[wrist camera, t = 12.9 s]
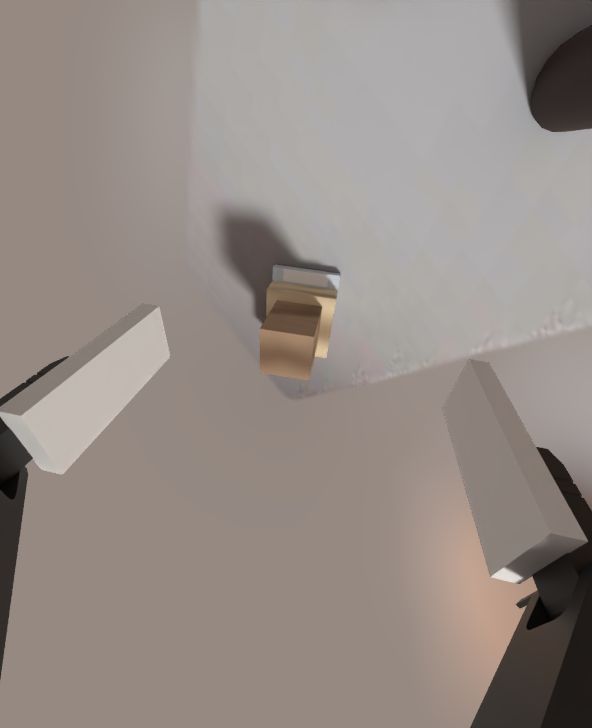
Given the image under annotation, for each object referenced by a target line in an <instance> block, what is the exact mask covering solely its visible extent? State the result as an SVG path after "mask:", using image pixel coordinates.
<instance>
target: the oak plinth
mask: <svg viewBox="0 0 592 728" xmlns="http://www.w3.org/2000/svg"><path fill="white" fill-rule="evenodd" d="M337 292H338V291H336V290H330V289H323V288H316V287H309V286H302V285H296V284H289V283H282V282H275V281H272V282H271V284H270V285H269V286H268V288H267V296H266V318H267V316H268V315H269V313H270V311H271V309H272V308H273V306H274V304H275V303H276V301H277V300H279V301H286V302H293V303H300V304H307V305H314V306H321V307H322V313H321V321H320V328H319V336H318V344H317V349H316V353H315V356H317V357H323V358H326V356H327V350H328V344H329V338H330V333H331V327H332V321H333V315H334V309H335V303H336V298H337Z"/></svg>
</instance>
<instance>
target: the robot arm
mask: <svg viewBox="0 0 592 728" xmlns="http://www.w3.org/2000/svg"><path fill="white" fill-rule="evenodd" d="M169 357H170V353H169V349H168V344H167V339H166V335H165V330H164V326H163V321H162V317H161V312H160V308H159V306H155V305H149V304H142V305H140V306H139V307H137V308H136V309H135V310H133V311H132V312H131V313H129V314H128V315H126V316H125V317H124V318H122V319H121V320H119V321H118V322H117V323H115V324H114V325H113V326H111V327H110V328H108V329H107V330H106V331H104V332H103V333H101V334H100V335H99V336H97V337H96V338H95V339H93V340H92V341H90V342H89V343H88V344H86V345H85V346H84V347H82V348H81V349H79V350H78V351H77V352H75V353H74V354H73V355H71V356H70V357H68V356H67V357H65V358H62V359H60V360H58V361H55V362H53V363H51V364H49V365H48V366H46V367H45V368H44V369H42V370H41V371H39V372H38V373H37V375H34V376H32V377H31V378H29V379H28V380H27V381H26V383H22V384H21V385H19V386H18V387H17V388H15V389H14V390H12V391H11V392H9V393H8V394H6V395H5V396H4V397H2V398H1V399H0V678H1V670H2V663H3V655H4V648H5V641H6V633H7V626H8V618H9V610H10V603H11V596H12V589H13V581H14V573H15V566H16V559H17V552H18V544H19V537H20V529H21V522H22V515H23V507H24V500H25V493H26V484H27V478H28V472H27V468H26V467H25V465H26V464H27V463H28V462H29V461H30V460H31V459H33V460H34V461H35V462H36V464H37V465H38V466H39V468H40V469H42V470H45V471H49V472H54V473H57V474H62V475H63V474H64V472H65V471H66V470H67V469H68V468H69V467H70V466H71V465H72V464H73V463H74V461H75V460H76V459H77V458H78V457H79V456H80V455H81V454H82V453H83V451H84V450H85V449H86V448H87V447H88V446H89V445H90V444H91V443H92V442H93V440H95V438H96V437H97V436H98V435H99V434H100V433H101V432H102V431H103V430H104V429H105V427H106V426H107V425H108V424H109V423H110V422H111V421H112V420H113V419H114V417H116V415H117V414H118V413H119V412H120V411H121V410H122V409H123V408H124V407H125V405H127V403H128V402H129V401H130V400H131V399H132V398H133V397H134V396H135V395H136V394H137V392H138V391H139V390H140V389H141V388H142V387H143V386H144V385H145V384H146V383H147V381H148V380H149V379H150V378H151V377H152V376H153V375H154V374H155V373H156V372H157V370H158V369H159V368H160V367H161V366H162V365H163V364H164V363H165V362H166V361H167V360H168V358H169ZM442 409H443V412H444V416H445V420H446V423H447V427H448V430H449V434H450V437H451V441H452V444H453V448H454V451H455V454H456V458H457V462H458V465H459V469H460V472H461V476H462V479H463V483H464V486H465V490H466V493H467V497H468V500H469V504H470V507H471V511H472V514H473V518H474V521H475V525H476V528H477V532H478V536H479V539H480V542H481V546H482V549H483V553H484V557H485V560H486V564H487V567H488V571H489V574H490V577H492V578H497V579H501V580H505V581H509V582H514V583H517V584H520V583H522V582H523V581H525V580H527V579H528V578H530V577H532V576H533V579H534V581H535V584H536V587H537V589H538V590H537V591H536V592H534V593H532V594H530V595H529V596H527V597H525V598H523V599H521V600H520V601H519V602H518V603H517V604H516V605H517V606H518V607H519V608H522V607H524V606H526V605H527V607H526V609H525V611H524V613H523V615H522V617H521V619H520V622H519V624H518V626H517V628H516V630H515V632H514V634H513V637H512V639H511V641H510V643H509V646H508V647H507V650H506V652H505V654H504V656H503V658H502V660H501V662H500V665H499V667H498V669H497V671H496V673H495V676H494V677H493V680H492V682H491V684H490V686H489V688H488V691H487V693H486V695H485V697H484V699H483V702H482V703H481V705H480V708H479V710H478V712H477V714H476V716H475V718H474V721H473V723H472V725H471V727H470V728H592V511H591V509H590V508H589V506H588V504H587V503H586V501H585V499H584V498H582V497H581V493H580V491H579V490H578V488H577V486H576V485H575V484H573V480H572V478H571V476H570V475H569V473H568V471H567V470H566V468H565V467H564V465H563V464H562V463H561V462H560V461H559V460H558V459H557V458H556V457H555V456H554V455H553V454H552V453H551V452H550V451H549V450H548V449H544V448H539V447H536V446H535V444H534V443H533V441H532V439H531V437H530V435H529V434H528V432H527V430H526V428H525V427H524V425H523V423H522V421H521V419H520V417H519V416H518V414H517V412H516V410H515V408H514V407H513V405H512V403H511V401H510V399H509V398H508V396H507V394H506V392H505V390H504V389H503V387H502V385H501V383H500V381H499V380H498V378H497V376H496V374H495V373H494V371H493V369H492V367H491V365H490V363H489V362H483V361H477V360H471V359H469V360H468V362H467V363H466V366H465V367H464V369H463V371H462V372H461V374H460V376H459V378H458V380H457V382H456V383H455V385H454V387H453V389H452V391H451V393H450V394H449V396H448V398H447V400H446V402H445V403H444V405H443V407H442Z"/></svg>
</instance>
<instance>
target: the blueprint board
mask: <svg viewBox="0 0 592 728" xmlns="http://www.w3.org/2000/svg"><path fill="white" fill-rule="evenodd" d="M339 280H340V273H333V272H326V271H319V270H312V269H305V268H297V267H290V266H283V265H276V264H274V266H273V277H272V281H275V282H282V283H289V284H296V285H302V286H309V287H316V288H323V289H330V290H336V291H338V286H339ZM335 304H336V303H335ZM329 339H330V338H329Z"/></svg>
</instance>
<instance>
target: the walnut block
mask: <svg viewBox="0 0 592 728" xmlns="http://www.w3.org/2000/svg"><path fill="white" fill-rule="evenodd" d="M321 313H322V307H321V306H314V305H307V304H300V303H293V302H286V301H279V300H277V301H276V303H275V304H274V306H273V308H272V309H271V311H270V313H269V315H268V316H267V318H266V320H265V321H264V323H263V325H262V326H261V328H260V373H266V374H272V375H278V376H284V377H290V378H296V379H302V380H308V381H309V378H310V374H311V370H312V366H313V362H314V357H315V353H316V349H317V344H318V336H319V328H320V321H321Z"/></svg>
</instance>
